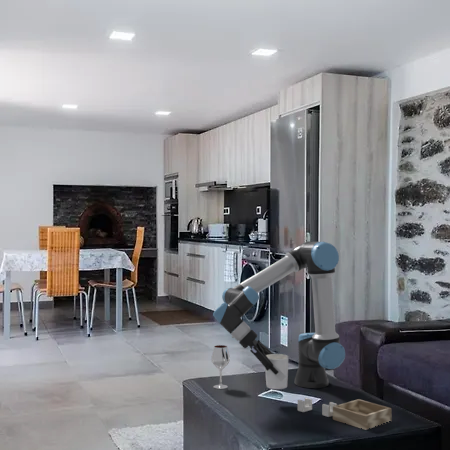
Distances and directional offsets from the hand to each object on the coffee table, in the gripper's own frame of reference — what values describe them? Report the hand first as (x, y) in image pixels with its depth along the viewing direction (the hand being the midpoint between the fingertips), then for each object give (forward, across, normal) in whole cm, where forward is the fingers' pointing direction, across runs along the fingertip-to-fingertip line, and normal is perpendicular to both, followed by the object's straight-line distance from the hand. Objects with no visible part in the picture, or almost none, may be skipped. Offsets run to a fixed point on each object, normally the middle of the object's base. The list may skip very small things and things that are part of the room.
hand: (284, 375), depth 244 cm
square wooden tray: (+29, +14, +12) cm, 35 cm away
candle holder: (+1, 0, -6) cm, 6 cm away
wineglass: (-13, -22, -30) cm, 39 cm away
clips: (+18, +7, +1) cm, 19 cm away
